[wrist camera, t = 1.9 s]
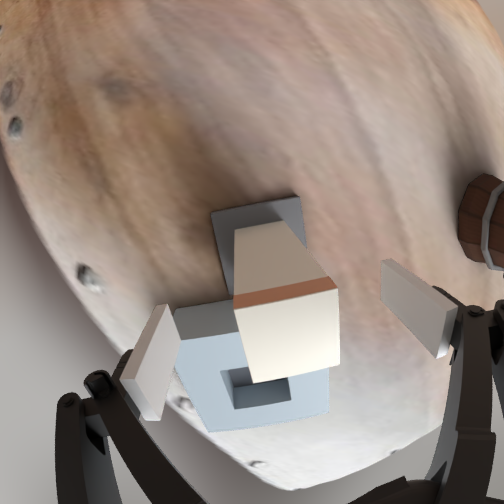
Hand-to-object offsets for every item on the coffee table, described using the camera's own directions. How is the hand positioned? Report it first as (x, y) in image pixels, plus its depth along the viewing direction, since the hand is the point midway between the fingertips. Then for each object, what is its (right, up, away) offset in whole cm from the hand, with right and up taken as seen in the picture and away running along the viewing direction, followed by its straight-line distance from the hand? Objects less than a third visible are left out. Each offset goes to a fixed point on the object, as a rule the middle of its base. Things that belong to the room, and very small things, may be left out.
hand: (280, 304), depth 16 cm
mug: (+30, +6, +12) cm, 33 cm away
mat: (-1, +4, +10) cm, 11 cm away
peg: (-1, +3, +9) cm, 10 cm away
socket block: (-1, -8, +14) cm, 16 cm away
